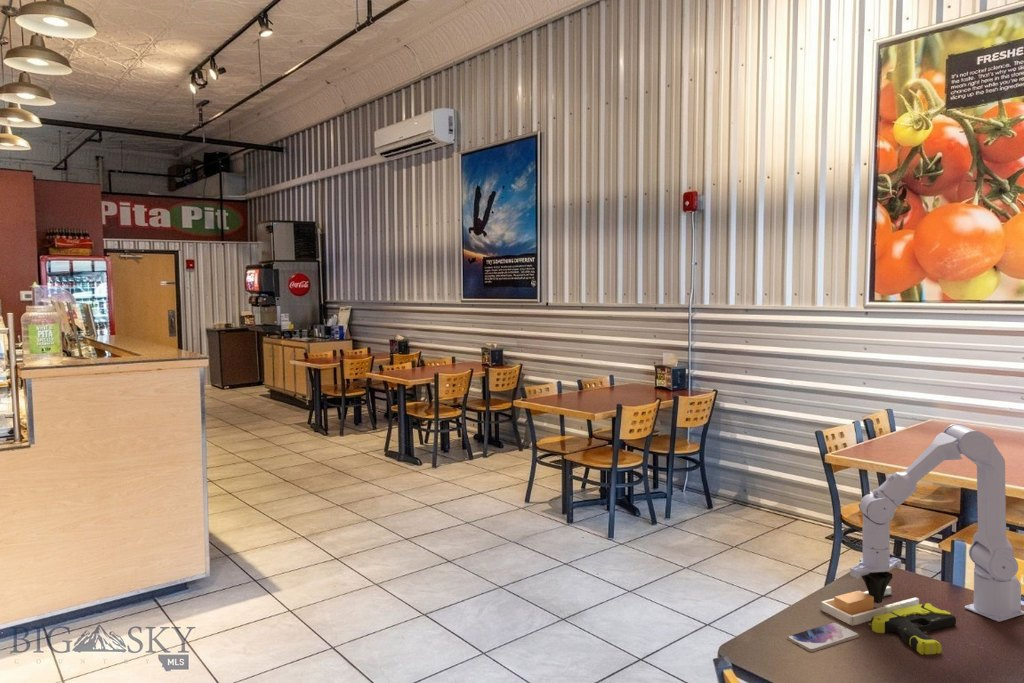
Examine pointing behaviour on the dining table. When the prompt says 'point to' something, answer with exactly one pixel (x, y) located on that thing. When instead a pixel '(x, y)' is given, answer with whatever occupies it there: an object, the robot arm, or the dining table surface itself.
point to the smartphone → (822, 637)
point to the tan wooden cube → (848, 604)
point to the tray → (849, 619)
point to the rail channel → (900, 604)
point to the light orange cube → (864, 600)
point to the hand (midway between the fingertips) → (876, 601)
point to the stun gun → (915, 625)
